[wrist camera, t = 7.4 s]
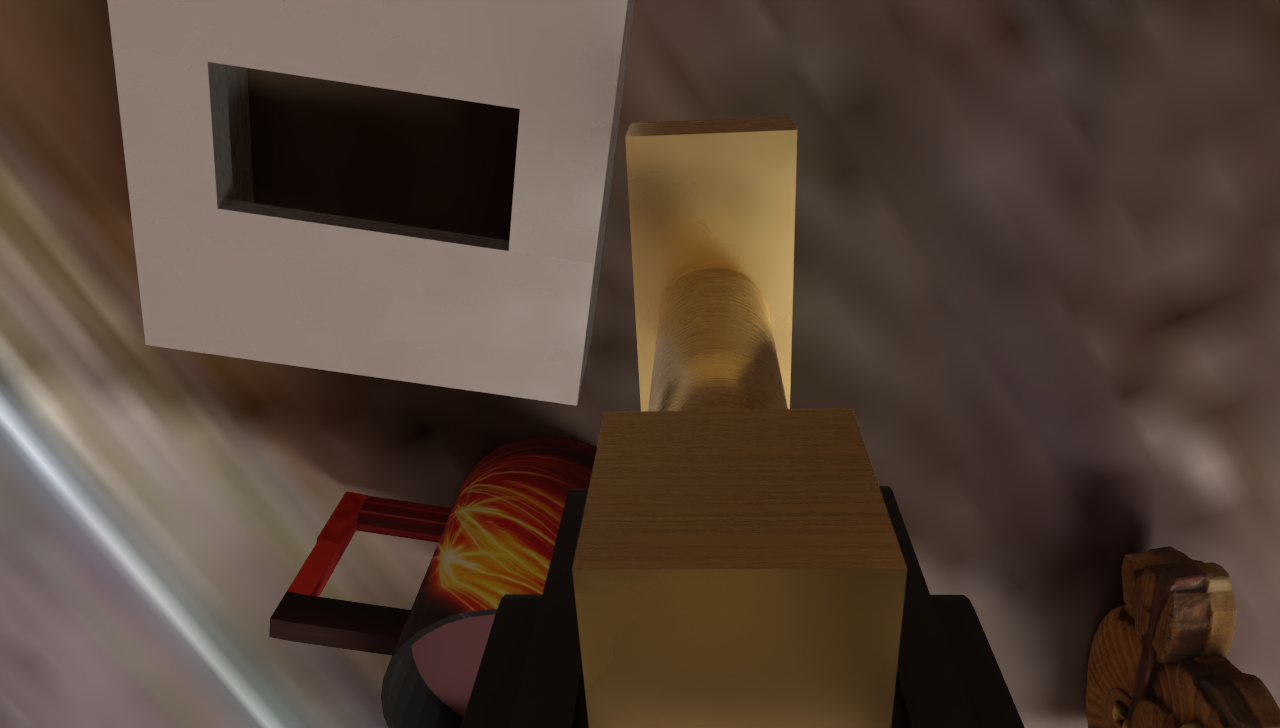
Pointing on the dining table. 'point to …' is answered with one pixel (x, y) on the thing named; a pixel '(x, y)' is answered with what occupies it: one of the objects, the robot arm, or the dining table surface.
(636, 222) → the tall wooden post
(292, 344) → the white slotted holder
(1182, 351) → the dining table surface
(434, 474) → the dining table surface
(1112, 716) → the wooden carving
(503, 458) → the mug
